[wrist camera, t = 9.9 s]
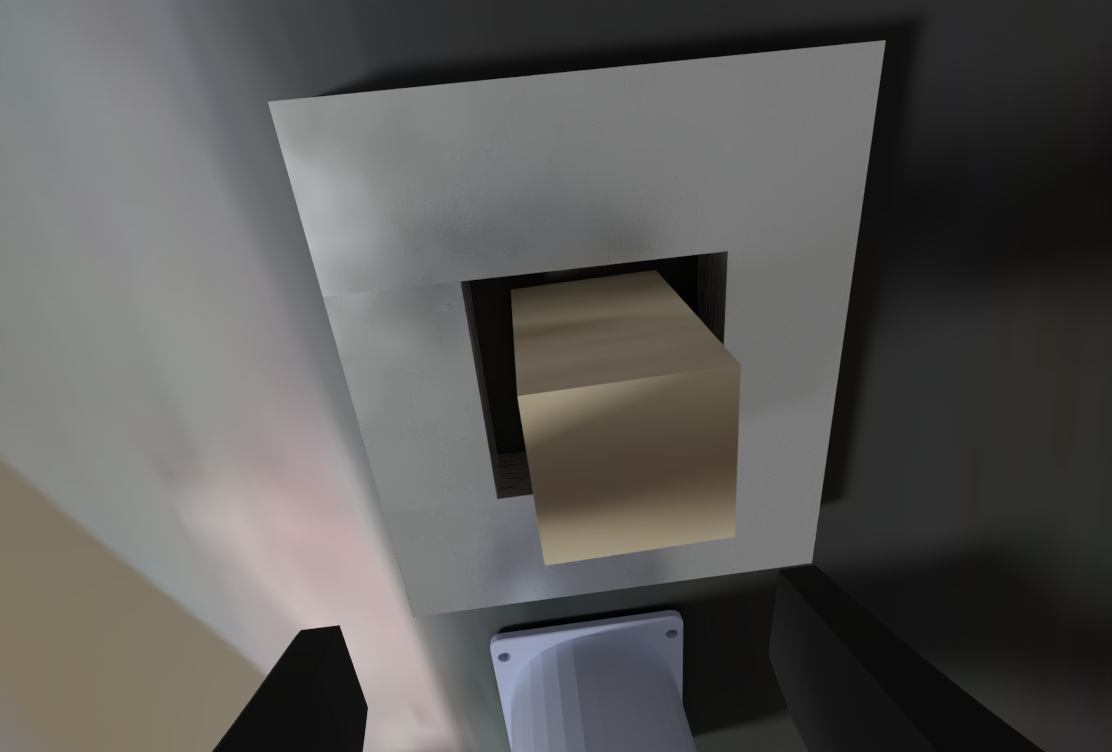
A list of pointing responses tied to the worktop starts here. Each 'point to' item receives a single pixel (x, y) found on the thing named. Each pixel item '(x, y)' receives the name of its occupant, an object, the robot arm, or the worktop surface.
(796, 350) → the socket plate
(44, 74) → the worktop surface
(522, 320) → the birch block
